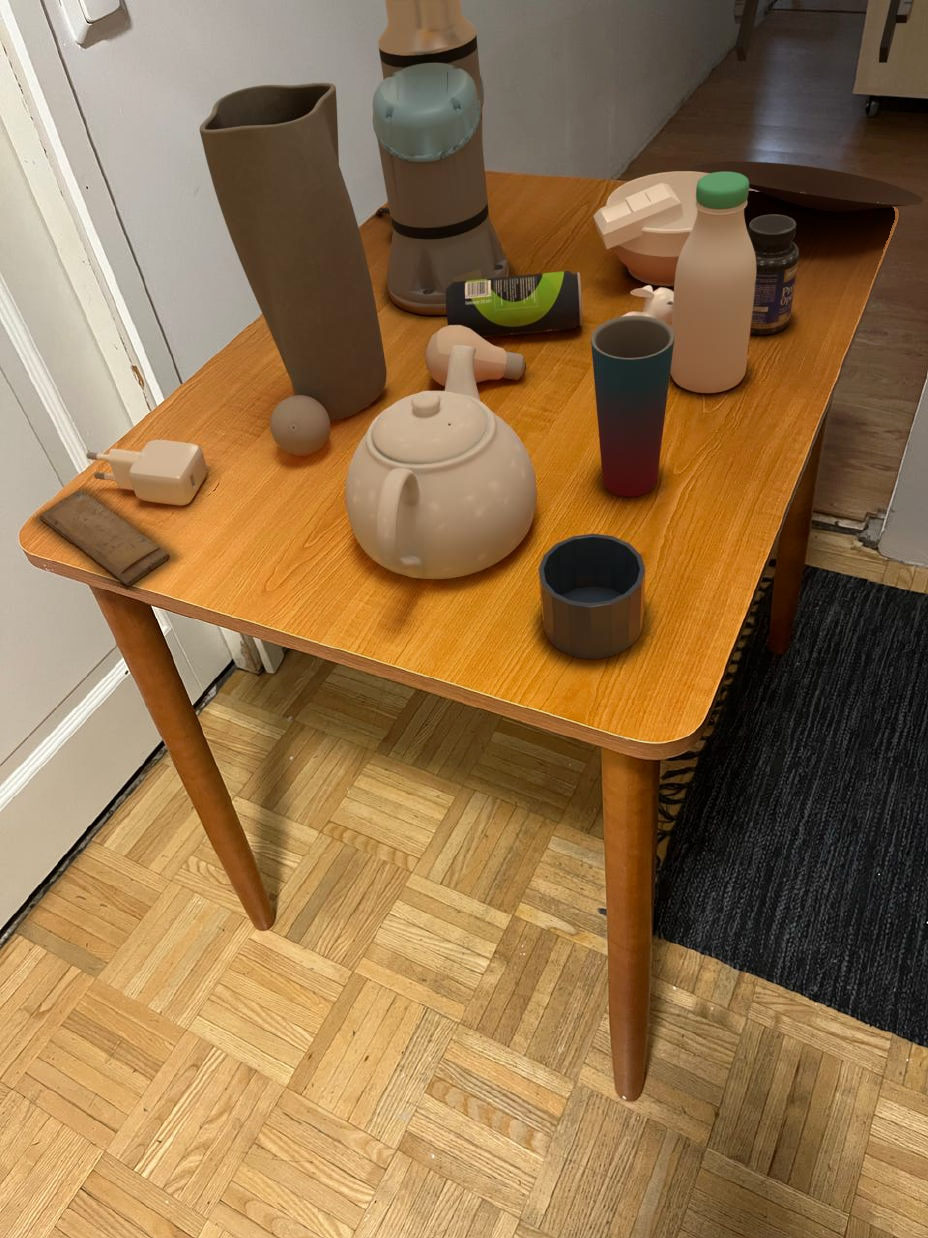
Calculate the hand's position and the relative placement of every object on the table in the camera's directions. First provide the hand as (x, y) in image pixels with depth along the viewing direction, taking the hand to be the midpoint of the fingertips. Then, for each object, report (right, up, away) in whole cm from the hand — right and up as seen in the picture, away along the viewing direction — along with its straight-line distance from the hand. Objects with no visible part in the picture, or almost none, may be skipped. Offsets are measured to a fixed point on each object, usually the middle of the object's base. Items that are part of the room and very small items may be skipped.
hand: (809, 54), depth 94 cm
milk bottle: (-9, -30, +6) cm, 32 cm away
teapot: (-36, -47, -6) cm, 60 cm away
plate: (+8, -3, +26) cm, 27 cm away
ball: (-52, -39, +3) cm, 65 cm away
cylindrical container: (-24, -56, -17) cm, 63 cm away
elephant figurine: (-14, -26, +5) cm, 30 cm away
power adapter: (-66, -38, +3) cm, 76 cm away
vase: (-48, -32, +10) cm, 58 cm away
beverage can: (-36, -21, +14) cm, 44 cm away
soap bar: (-14, -11, +15) cm, 23 cm away
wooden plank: (-67, -46, -1) cm, 82 cm away
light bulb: (-33, -30, +10) cm, 45 cm away
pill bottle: (-1, -23, +11) cm, 26 cm away
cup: (-19, -43, -5) cm, 47 cm away
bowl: (-9, -13, +22) cm, 27 cm away
